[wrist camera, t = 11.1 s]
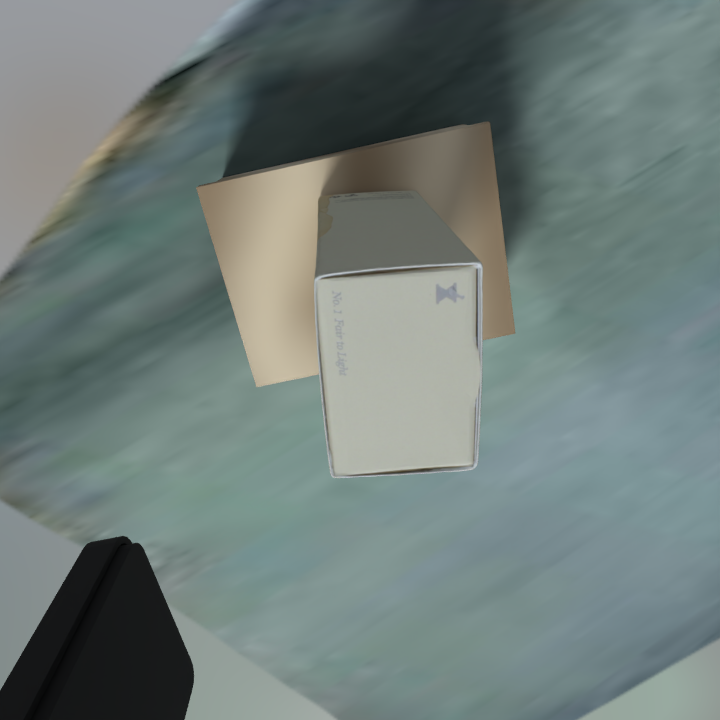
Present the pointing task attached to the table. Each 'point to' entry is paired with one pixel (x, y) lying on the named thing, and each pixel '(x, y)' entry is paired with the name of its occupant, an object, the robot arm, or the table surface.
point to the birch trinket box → (300, 225)
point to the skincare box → (396, 337)
